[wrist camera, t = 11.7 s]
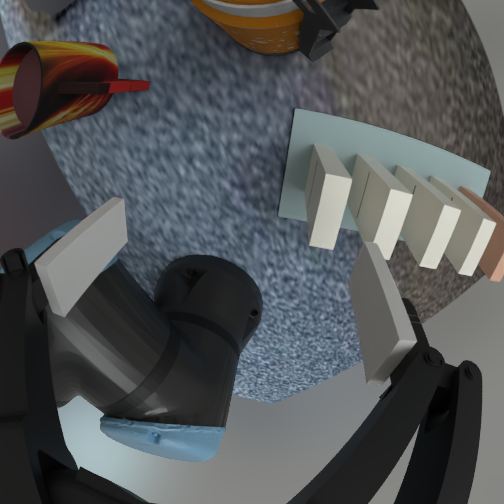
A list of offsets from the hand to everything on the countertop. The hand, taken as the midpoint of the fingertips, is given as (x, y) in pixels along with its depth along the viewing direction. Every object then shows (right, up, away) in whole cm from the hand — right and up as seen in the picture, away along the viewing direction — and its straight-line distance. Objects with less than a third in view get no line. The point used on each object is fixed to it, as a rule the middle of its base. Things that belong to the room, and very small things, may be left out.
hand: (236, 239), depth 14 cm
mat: (+17, +6, +13) cm, 22 cm away
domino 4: (+21, +5, +12) cm, 25 cm away
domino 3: (+17, +6, +13) cm, 22 cm away
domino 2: (+12, +7, +13) cm, 19 cm away
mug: (-17, +20, +10) cm, 28 cm away
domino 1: (+7, +8, +13) cm, 17 cm away
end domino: (+26, +5, +12) cm, 29 cm away
